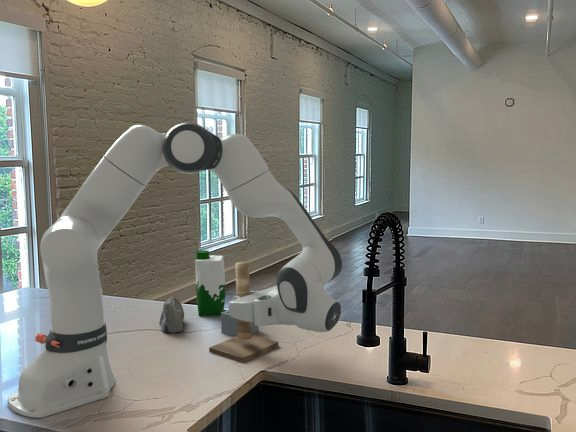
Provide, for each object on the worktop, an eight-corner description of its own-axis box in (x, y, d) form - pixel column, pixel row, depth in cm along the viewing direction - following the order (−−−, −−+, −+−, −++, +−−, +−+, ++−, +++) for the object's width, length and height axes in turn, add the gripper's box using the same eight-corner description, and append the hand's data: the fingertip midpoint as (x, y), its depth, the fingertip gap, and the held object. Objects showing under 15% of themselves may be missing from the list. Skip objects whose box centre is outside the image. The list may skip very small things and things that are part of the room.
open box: (240, 338, 160) (240, 317, 159) (221, 333, 164) (220, 312, 164) (258, 331, 166) (258, 310, 165) (239, 325, 170) (239, 306, 169)
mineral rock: (175, 317, 179) (173, 286, 178) (203, 322, 174) (202, 290, 173) (147, 330, 168) (145, 297, 166) (176, 335, 163) (174, 301, 161)
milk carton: (200, 308, 188) (197, 248, 185) (227, 308, 188) (225, 248, 185) (195, 317, 179) (192, 254, 176) (223, 316, 179) (221, 254, 176)
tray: (242, 362, 143) (242, 357, 143) (209, 351, 150) (209, 347, 150) (278, 346, 154) (278, 341, 153) (245, 336, 161) (245, 332, 161)
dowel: (245, 340, 149) (242, 265, 146) (235, 337, 151) (232, 263, 148) (254, 336, 152) (252, 262, 149) (244, 334, 154) (241, 261, 151)
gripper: (306, 283, 149) (266, 276, 158) (254, 302, 134) (212, 293, 142) (306, 307, 150) (266, 298, 159) (254, 328, 135) (213, 317, 143)
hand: (240, 296), depth 150 cm, fingers closed on dowel, 4 cm apart
